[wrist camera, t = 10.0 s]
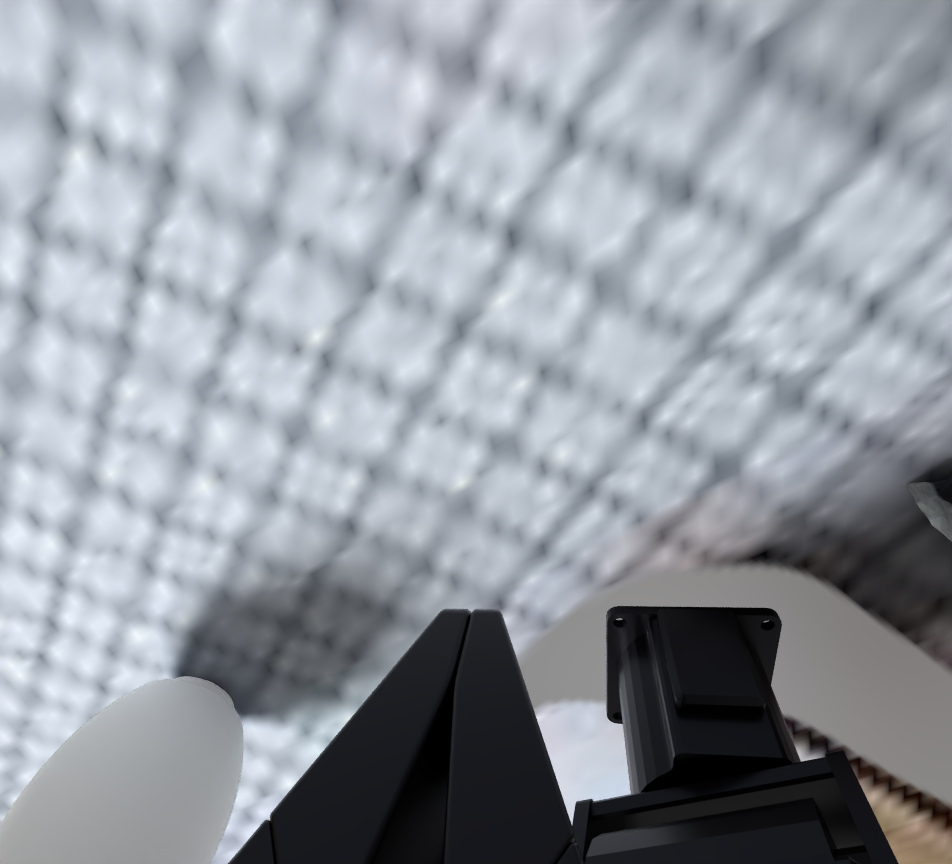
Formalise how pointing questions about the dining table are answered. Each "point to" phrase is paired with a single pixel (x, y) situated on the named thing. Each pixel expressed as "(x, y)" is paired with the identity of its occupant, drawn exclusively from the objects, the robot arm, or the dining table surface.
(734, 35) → the dining table surface
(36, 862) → the sauce bottle
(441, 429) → the dining table surface
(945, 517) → the electronic device
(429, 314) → the dining table surface
